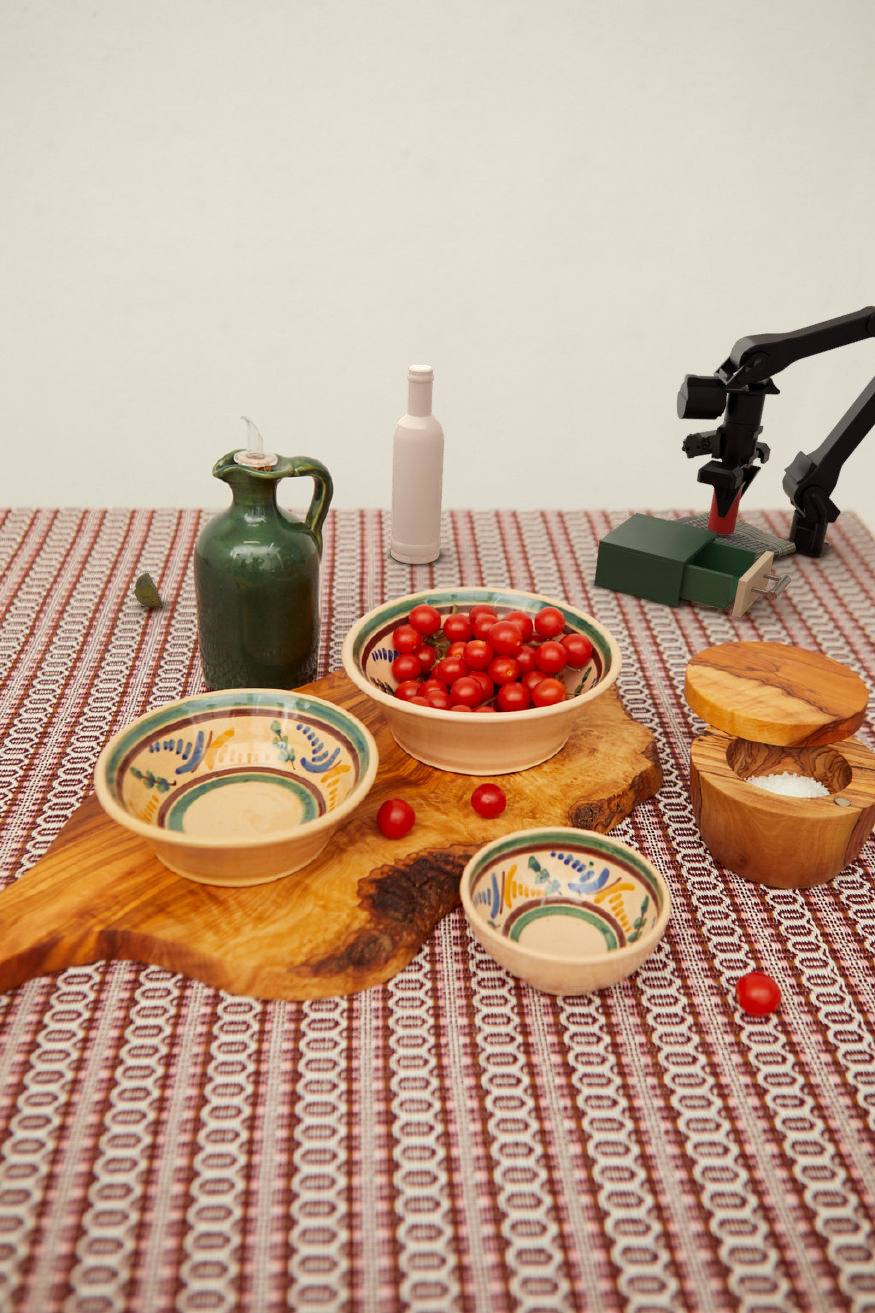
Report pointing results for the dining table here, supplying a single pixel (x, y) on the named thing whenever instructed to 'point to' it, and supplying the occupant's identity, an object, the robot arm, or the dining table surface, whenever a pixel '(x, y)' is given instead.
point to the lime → (147, 592)
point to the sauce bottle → (720, 523)
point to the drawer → (729, 577)
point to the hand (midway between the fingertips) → (726, 512)
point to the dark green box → (649, 557)
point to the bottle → (417, 475)
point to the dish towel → (744, 536)
